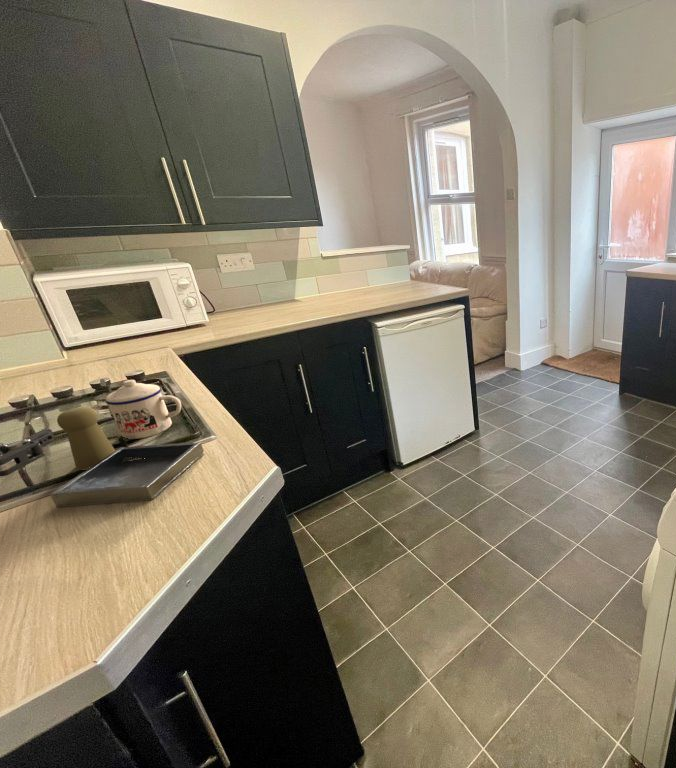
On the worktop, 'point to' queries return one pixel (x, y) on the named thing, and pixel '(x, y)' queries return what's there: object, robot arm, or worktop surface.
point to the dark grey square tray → (129, 475)
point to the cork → (85, 436)
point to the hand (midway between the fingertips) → (22, 435)
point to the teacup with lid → (141, 409)
